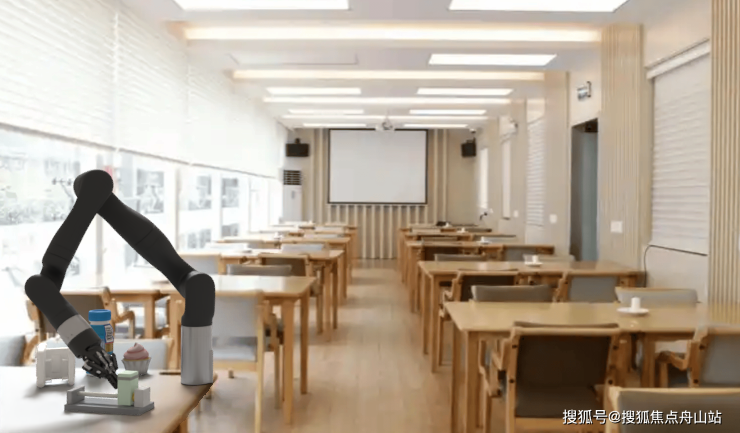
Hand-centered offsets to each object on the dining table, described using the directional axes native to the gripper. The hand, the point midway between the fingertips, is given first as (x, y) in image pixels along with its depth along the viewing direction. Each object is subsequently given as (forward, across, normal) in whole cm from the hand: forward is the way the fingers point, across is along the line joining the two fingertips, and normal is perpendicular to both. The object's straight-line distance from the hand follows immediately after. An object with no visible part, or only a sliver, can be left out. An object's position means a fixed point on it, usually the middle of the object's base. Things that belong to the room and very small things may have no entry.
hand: (119, 386), depth 195 cm
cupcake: (-8, +40, +17) cm, 44 cm away
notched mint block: (+5, 0, +1) cm, 5 cm away
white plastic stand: (-19, +22, +29) cm, 41 cm away
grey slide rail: (+3, 0, +6) cm, 6 cm away
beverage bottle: (-15, +37, +25) cm, 47 cm away
